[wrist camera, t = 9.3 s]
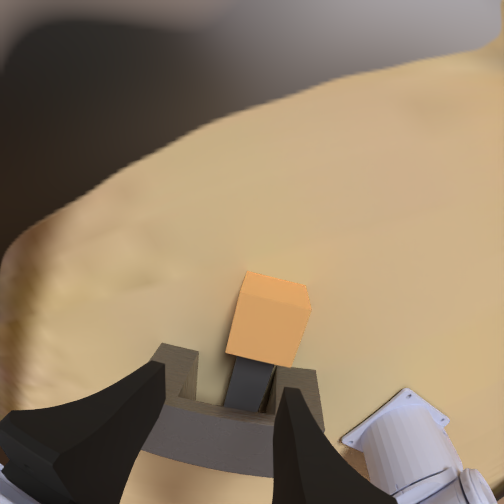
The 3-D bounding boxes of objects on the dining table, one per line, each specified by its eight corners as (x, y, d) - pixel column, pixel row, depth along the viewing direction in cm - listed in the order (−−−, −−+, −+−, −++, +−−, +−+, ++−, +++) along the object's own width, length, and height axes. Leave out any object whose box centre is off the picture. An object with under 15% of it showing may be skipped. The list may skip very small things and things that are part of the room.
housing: (297, 422, 22) (299, 479, 16) (162, 397, 23) (136, 448, 17) (315, 370, 21) (324, 430, 15) (161, 342, 21) (127, 392, 15)
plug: (250, 438, 23) (246, 470, 19) (208, 428, 23) (199, 459, 20) (305, 285, 19) (311, 309, 16) (247, 270, 20) (239, 292, 16)
